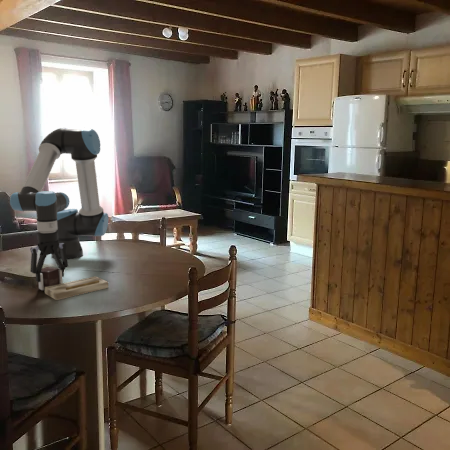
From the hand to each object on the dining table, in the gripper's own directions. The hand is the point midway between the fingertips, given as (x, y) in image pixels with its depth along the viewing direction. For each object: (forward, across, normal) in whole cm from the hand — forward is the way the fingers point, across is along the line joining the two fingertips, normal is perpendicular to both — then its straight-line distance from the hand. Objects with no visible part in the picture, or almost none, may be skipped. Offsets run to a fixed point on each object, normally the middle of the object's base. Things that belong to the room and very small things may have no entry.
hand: (50, 286), depth 190 cm
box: (0, 0, +1) cm, 1 cm away
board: (+1, +7, -9) cm, 11 cm away
